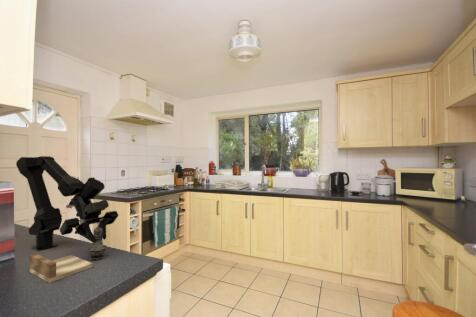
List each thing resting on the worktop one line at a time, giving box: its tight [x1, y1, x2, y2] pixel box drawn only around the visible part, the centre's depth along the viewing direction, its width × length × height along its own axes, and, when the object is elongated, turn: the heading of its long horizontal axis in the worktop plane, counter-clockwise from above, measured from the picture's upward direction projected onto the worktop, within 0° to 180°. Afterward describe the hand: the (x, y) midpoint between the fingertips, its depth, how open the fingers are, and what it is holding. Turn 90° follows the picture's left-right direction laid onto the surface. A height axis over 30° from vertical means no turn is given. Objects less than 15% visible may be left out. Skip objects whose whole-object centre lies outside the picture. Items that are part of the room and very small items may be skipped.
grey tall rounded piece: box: [88, 224, 108, 262], centre depth 84 cm, size 6×6×12 cm
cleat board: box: [28, 253, 94, 284], centre depth 75 cm, size 14×12×5 cm
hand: (99, 240), depth 84 cm, fingers closed on grey tall rounded piece, 4 cm apart
